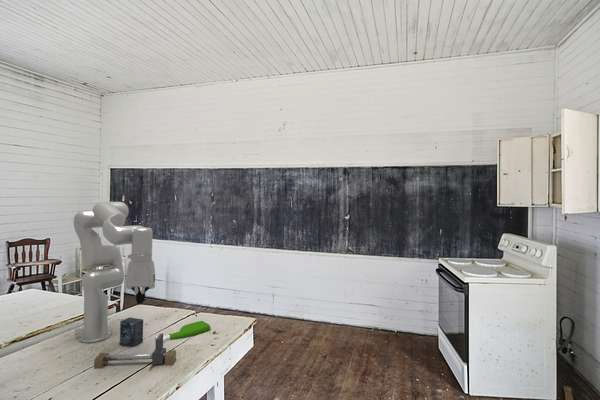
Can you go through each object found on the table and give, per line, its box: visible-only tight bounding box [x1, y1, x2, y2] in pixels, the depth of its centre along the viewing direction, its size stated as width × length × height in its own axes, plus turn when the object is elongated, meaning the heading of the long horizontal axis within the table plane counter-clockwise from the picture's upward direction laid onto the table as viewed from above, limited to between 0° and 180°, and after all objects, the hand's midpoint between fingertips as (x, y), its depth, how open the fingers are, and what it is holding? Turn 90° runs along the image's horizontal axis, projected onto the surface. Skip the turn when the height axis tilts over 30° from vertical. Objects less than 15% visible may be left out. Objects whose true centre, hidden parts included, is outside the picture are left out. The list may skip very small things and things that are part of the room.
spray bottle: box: [154, 320, 211, 344], centre depth 157 cm, size 3×11×24 cm
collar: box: [151, 332, 167, 366], centre depth 129 cm, size 4×6×10 cm, turn 7°
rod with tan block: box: [93, 349, 177, 372], centre depth 128 cm, size 29×12×4 cm, turn 97°
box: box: [119, 317, 144, 348], centre depth 146 cm, size 8×6×11 cm
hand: (140, 302), depth 131 cm, fingers closed
